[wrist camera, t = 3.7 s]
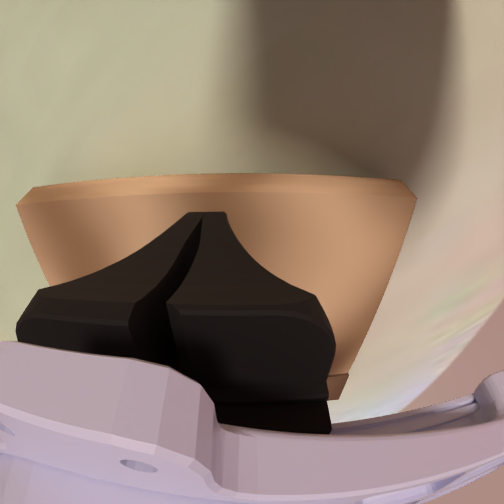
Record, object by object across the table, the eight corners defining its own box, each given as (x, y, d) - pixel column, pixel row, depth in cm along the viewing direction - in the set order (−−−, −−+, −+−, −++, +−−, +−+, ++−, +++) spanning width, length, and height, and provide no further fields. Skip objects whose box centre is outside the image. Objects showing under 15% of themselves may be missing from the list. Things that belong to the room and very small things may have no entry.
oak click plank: (104, 352, 18) (99, 370, 17) (33, 187, 11) (15, 205, 10) (343, 353, 19) (347, 372, 18) (400, 180, 12) (416, 198, 10)
